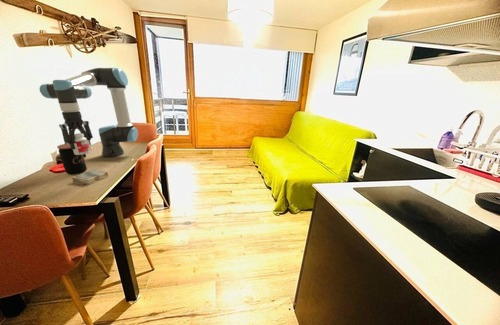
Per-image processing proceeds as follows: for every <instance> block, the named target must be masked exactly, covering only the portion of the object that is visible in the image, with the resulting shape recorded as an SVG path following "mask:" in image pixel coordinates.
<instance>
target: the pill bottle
mask: <svg viewBox="0 0 500 325" xmlns="http://www.w3.org/2000/svg"><path fill="white" fill-rule="evenodd" d="M74 143H76V145H77V148H78V151H79V154H80V155H82V154H83V155H86V154H90V153H91V151H90V149H89V146H88V142H87V139H86V138H85V137H84V134H83V133H81V132H80V133H78V132H77V133H75V135H74Z"/></svg>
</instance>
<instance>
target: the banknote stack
mask: <svg viewBox="0 0 500 325" xmlns="http://www.w3.org/2000/svg"><path fill="white" fill-rule="evenodd" d="M108 177H109V173H108V171H102V170H96V169H92V170H88V171H85V172H83V173H79V174H76V175H73V176H71V179H72V182H73V183H76V184H82V185H87V186H90V185H92V184H94V183H97V182H99V181H101V180H104V179H106V178H108Z"/></svg>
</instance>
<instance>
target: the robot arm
mask: <svg viewBox="0 0 500 325" xmlns="http://www.w3.org/2000/svg"><path fill="white" fill-rule="evenodd" d="M128 85H129V78H128V76H127V74H126V73H125V72H124V70H123V69H121V68H117V67H96V68H92V69H88V70H85V71H83V72H81V74H78V75H75V76H72V77H70V78H66V79H54V80H52V83H44V84H41V85H40V86H39V92H40V94H41V96H43V97H44V98H46V99H53V100H54V99H56V100H57V101H58V105H59V107H60V111H61V115H62V117H63V120H64V123H62V124H58V126H59V128H60V130H61V133H62V134H61V135H62V139H63V141H64V144H68V143H69V144H70V147H71V149H73V151H74V155H80V154H79V151H78V148H77V145H76V143H74V135H75V134H76V133H75V132H76V130H78V131H79V132H80V133H83V134H84V137H85V138H86V139H87V142H88V146H89V149H90V152H92V147H91V145H92V143H91V140H92V139H93V138H94V137H93V134H92V131H91V128H90V122H89V121H88V120H83V119H82V118H83V116H82V113H81V111H80V110H81V109H80V105H79V103H78V100H80V99H81V100H82V99H88V98H91V96H92V94H93V93H92V89H91V88H90V87H95V86H106V88H107V89H108V90H109V91H110V95H111V99H112V104H113V107H114V113H115V117H116V120H117V121H116V122H117V124H116V125H115V124H114V125H108V126H102V127H99V128H98V135H99V139H100V142H101V146H102V149H101V157H102V158H115V157H120V156H123V155H124V154H125V152H124V151H125V150H124V149H123V147H122V146H121V144H120V143H134V142H136V141H137V139H138V136H139V131H138V128H137V127H135V125H134V124H133V123H132V122H131V118H130V112H129V108H128V105H127V104H128V103H127V99H126V98H127V97H126V94H125V90H126V89H127V86H128ZM67 127H68V128H67Z"/></svg>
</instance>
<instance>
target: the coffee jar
mask: <svg viewBox="0 0 500 325" xmlns="http://www.w3.org/2000/svg"><path fill="white" fill-rule="evenodd" d="M57 149H58V154H59V155H60V156H59V157H60V159H61V163H62V165H63V169H64V171H65V173H66V174H67V175H71V176H72V175H73V176H75V175H80V174H82V173H85V172H87V170H88V168H87V165H86V160H85V158H84V154H82V155H74V151H73V149H71V147H70V144H69V143H64V144H63V143H62V144H59V145H57Z"/></svg>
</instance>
